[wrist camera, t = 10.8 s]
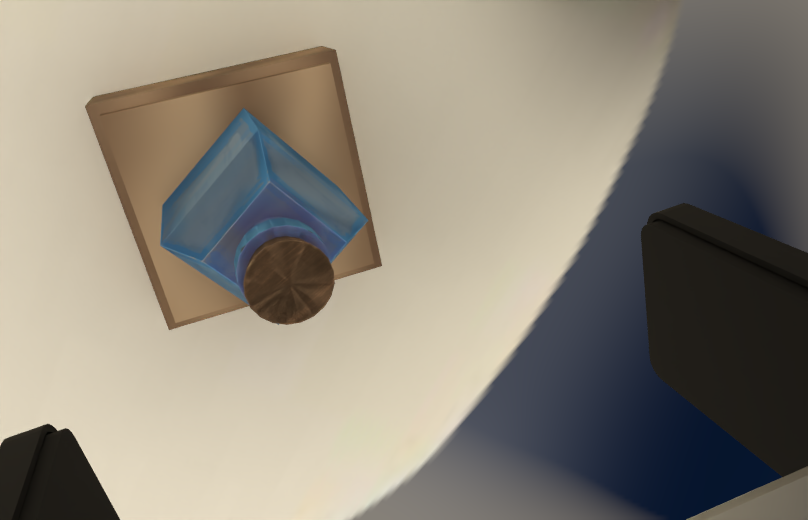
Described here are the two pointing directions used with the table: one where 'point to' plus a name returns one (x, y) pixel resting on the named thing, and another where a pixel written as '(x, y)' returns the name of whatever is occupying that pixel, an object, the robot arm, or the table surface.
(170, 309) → the pedestal
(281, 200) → the perfume bottle
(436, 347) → the table surface
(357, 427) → the table surface
